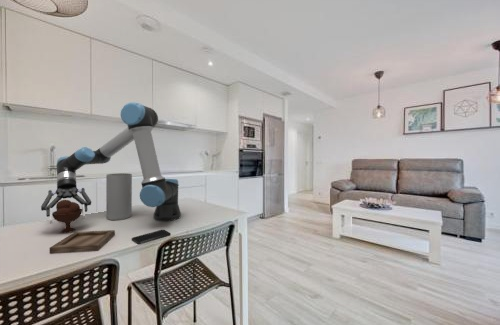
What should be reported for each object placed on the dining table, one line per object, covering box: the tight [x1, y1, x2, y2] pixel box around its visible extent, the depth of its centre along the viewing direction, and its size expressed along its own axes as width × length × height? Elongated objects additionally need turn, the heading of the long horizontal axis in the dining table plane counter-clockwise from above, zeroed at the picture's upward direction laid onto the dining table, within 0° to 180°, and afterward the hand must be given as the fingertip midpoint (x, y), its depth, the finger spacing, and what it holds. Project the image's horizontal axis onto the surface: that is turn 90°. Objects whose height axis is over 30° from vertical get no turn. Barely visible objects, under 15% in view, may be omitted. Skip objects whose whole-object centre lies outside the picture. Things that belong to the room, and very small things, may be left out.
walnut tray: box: [49, 229, 116, 255], centre depth 89 cm, size 16×16×2 cm
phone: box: [131, 229, 171, 245], centre depth 97 cm, size 8×1×15 cm
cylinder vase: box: [105, 172, 133, 221], centre depth 123 cm, size 12×12×25 cm
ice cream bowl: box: [52, 199, 83, 234], centre depth 101 cm, size 11×11×15 cm
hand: (68, 219), depth 99 cm, fingers closed on ice cream bowl, 11 cm apart
